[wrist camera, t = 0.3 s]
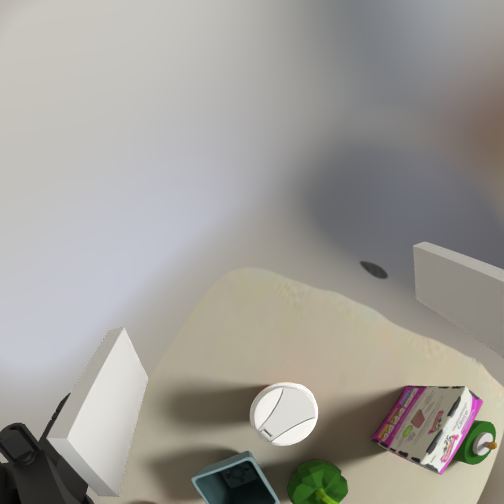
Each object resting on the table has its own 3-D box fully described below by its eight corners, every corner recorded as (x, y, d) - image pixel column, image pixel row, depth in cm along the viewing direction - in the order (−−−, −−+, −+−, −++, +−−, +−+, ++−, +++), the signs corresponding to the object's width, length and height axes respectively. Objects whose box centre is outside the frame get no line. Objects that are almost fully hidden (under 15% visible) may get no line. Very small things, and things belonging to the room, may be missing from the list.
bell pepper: (274, 468, 38) (281, 492, 29) (322, 445, 40) (339, 462, 30) (297, 504, 36) (308, 532, 26) (343, 481, 37) (363, 503, 28)
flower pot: (276, 482, 37) (281, 504, 29) (225, 501, 36) (221, 526, 27) (251, 439, 40) (251, 455, 32) (199, 459, 39) (189, 478, 30)
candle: (457, 466, 36) (488, 477, 26) (441, 443, 38) (473, 452, 29) (483, 435, 38) (515, 440, 28) (468, 411, 40) (502, 413, 31)
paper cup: (274, 434, 40) (284, 461, 27) (239, 401, 42) (234, 416, 29) (310, 399, 42) (335, 412, 29) (276, 367, 44) (286, 367, 31)
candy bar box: (389, 451, 38) (441, 477, 23) (369, 439, 40) (418, 464, 24) (425, 397, 42) (485, 400, 26) (406, 383, 43) (465, 384, 27)
